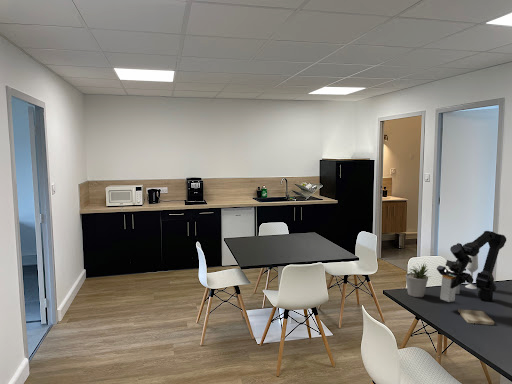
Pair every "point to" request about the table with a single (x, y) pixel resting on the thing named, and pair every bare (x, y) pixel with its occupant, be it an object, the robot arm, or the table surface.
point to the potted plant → (417, 281)
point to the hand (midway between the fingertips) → (446, 286)
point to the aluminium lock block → (447, 288)
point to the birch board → (476, 317)
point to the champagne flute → (472, 269)
